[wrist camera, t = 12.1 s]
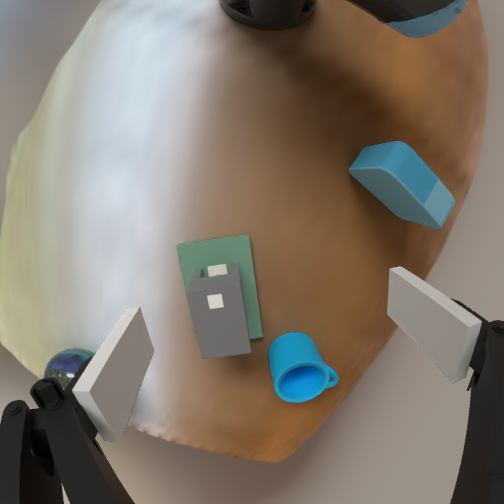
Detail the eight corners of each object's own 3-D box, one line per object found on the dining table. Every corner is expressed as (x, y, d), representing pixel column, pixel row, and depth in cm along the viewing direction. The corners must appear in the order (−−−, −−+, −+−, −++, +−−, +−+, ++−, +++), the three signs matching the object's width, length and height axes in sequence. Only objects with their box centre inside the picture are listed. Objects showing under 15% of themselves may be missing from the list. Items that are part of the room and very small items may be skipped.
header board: (178, 244, 40) (172, 251, 36) (248, 233, 41) (250, 239, 37) (199, 341, 44) (197, 356, 40) (262, 333, 45) (265, 347, 41)
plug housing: (195, 268, 40) (186, 292, 31) (238, 262, 40) (240, 285, 32) (207, 324, 42) (202, 359, 34) (247, 319, 43) (251, 353, 34)
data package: (411, 196, 41) (460, 204, 30) (397, 218, 42) (444, 232, 30) (360, 147, 39) (403, 138, 27) (344, 170, 39) (385, 168, 28)
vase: (129, 410, 48) (111, 458, 35) (62, 383, 45) (35, 424, 32) (135, 354, 44) (112, 405, 31) (60, 324, 42) (22, 363, 29)
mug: (259, 364, 46) (264, 395, 38) (281, 325, 45) (291, 354, 37) (318, 381, 48) (331, 410, 40) (342, 346, 47) (359, 373, 39)
